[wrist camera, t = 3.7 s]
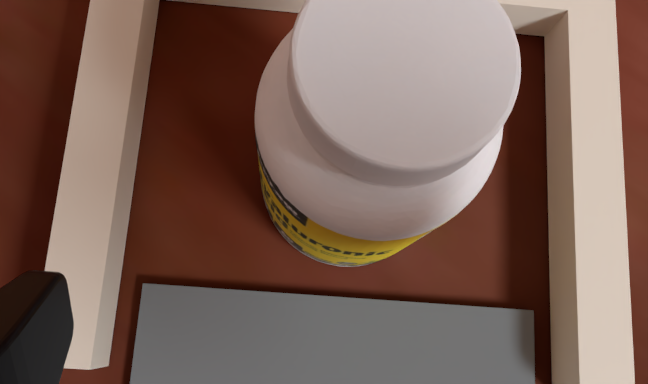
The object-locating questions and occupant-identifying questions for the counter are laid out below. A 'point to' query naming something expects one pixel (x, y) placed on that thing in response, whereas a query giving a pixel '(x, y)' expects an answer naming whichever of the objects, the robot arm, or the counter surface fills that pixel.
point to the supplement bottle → (382, 121)
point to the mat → (324, 340)
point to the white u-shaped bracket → (562, 178)
